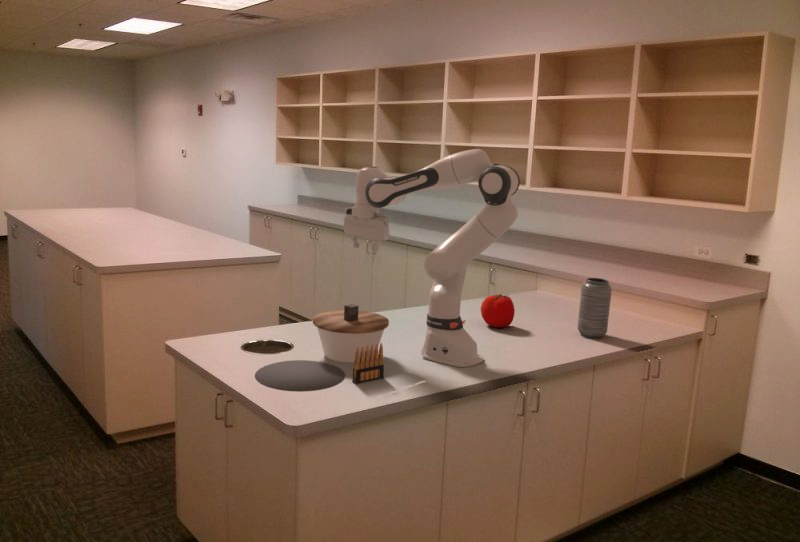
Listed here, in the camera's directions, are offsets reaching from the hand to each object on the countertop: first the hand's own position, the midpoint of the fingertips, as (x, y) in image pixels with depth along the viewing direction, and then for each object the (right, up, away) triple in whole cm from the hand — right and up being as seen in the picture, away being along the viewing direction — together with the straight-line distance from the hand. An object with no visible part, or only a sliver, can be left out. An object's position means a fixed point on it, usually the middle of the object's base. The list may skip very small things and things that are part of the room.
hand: (365, 249), depth 249 cm
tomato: (+52, -31, +35) cm, 70 cm away
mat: (-19, -41, -35) cm, 57 cm away
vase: (+90, -34, +28) cm, 101 cm away
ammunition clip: (+3, -43, -36) cm, 56 cm away
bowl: (-5, -37, -12) cm, 40 cm away
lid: (-4, -25, -15) cm, 30 cm away
